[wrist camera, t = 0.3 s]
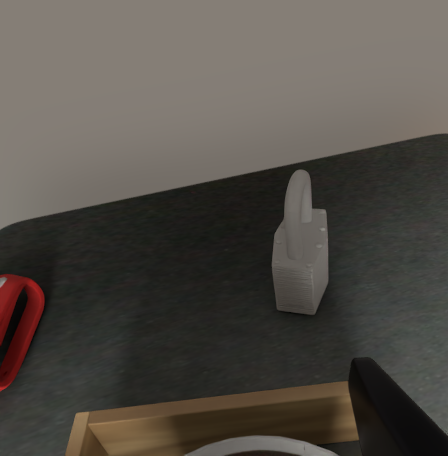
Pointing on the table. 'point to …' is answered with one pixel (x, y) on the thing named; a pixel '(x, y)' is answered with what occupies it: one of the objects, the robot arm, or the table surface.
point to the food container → (261, 447)
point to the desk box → (216, 422)
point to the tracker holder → (3, 308)
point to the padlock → (300, 250)
